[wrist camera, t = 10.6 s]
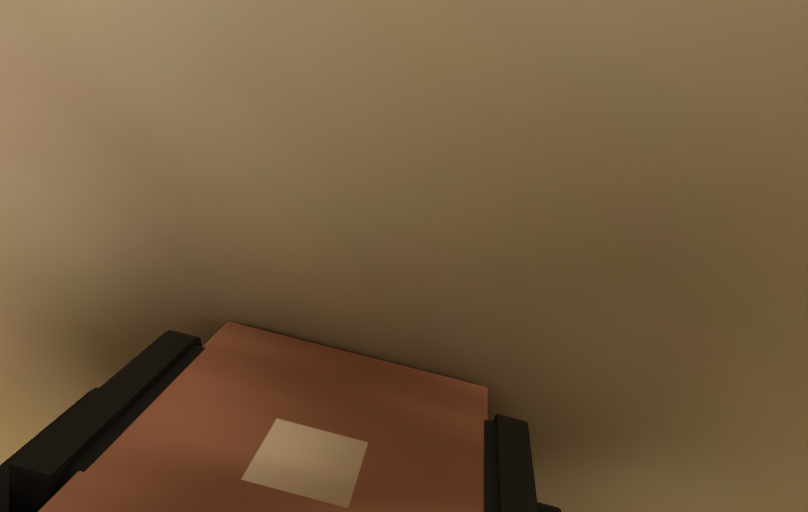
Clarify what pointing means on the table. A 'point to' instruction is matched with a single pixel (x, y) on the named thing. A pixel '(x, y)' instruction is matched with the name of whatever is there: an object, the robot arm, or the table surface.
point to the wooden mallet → (292, 437)
